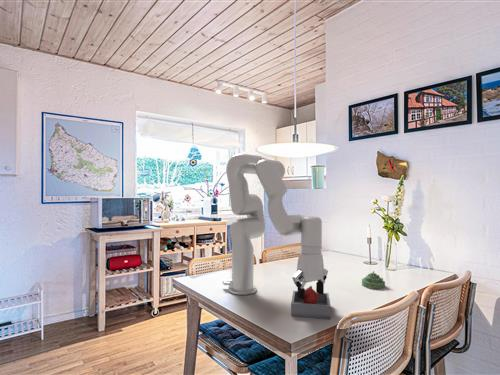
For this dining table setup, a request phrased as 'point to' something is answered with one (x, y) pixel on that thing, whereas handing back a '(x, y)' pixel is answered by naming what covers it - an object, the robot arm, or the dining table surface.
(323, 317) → the tray
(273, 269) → the dining table surface
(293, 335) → the dining table surface
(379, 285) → the decorative artifact
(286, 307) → the dining table surface
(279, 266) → the dining table surface
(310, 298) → the onion
